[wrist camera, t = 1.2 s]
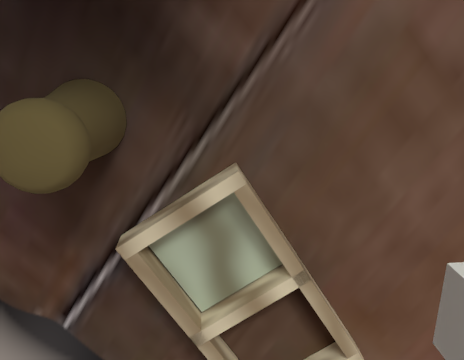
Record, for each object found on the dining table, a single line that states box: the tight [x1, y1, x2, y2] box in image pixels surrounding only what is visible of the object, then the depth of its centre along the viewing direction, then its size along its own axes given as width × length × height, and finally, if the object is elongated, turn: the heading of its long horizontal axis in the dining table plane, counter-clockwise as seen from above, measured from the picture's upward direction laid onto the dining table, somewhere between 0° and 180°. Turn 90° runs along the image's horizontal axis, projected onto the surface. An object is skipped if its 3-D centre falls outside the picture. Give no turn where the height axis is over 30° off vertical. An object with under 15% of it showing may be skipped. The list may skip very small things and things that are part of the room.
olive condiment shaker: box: [0, 79, 127, 194], centre depth 26 cm, size 6×6×11 cm
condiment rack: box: [116, 163, 364, 360], centre depth 35 cm, size 11×22×2 cm, turn 32°
